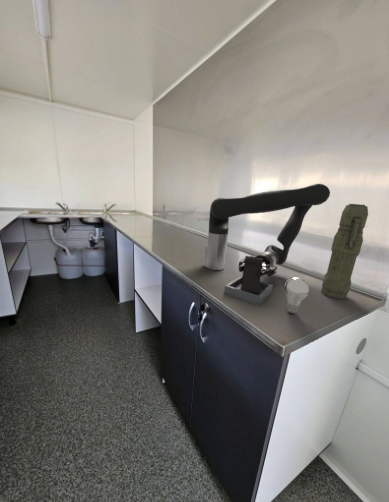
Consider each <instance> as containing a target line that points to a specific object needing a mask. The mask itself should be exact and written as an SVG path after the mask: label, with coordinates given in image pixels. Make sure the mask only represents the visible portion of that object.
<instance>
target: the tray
mask: <svg viewBox="0 0 389 502" xmlns="http://www.w3.org/2000/svg"><path fill="white" fill-rule="evenodd" d="M241 282H242V275H240V276H238V277H237V278H235V279H233V280H232V281H230V282H228V283H227V284H225V285H224V290H223V291H224V293H223V294H225V295H228V296H230V297H233V298H236V299H238V300H242V301H244V302H248V303H251V304H253V305H256V306H260V305H261V304H262V303H263V302H264V301H265V300H266V299H267V297H269V296H270V295H271V293H272V292H273V291H272V290H273V284H270V283H266V282H263V281H260V285H259V293H258V294H253V293H249V292H246V291H243V290H241Z"/></svg>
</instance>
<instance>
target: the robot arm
mask: <svg viewBox="0 0 389 502" xmlns="http://www.w3.org/2000/svg"><path fill="white" fill-rule="evenodd" d="M330 195H331V191H330V188H329V187H328V186H327V185H325V184H323V183H314V184H310V185H307V186H304V187H300V188H294V189H293V188H292V189H274V190H268V191H267V190H266V191H260V192H256V193H253V194H249V195H246V196H243V197H231V198H229V197H228V198H225V197H223V198H222V197H219V198H216V199H214V200H213V201H212V202H211V204H210V209H209V220H208V235H207V242H206V243H207V245H206V246H205V248H204V258H203V267H205V268H206V269H208V270H213V271H222V270H224V268H225V262H226V255H227V246H228V238H229V237H228V235H229V218H232V217H236V216H240V215H249V214H251V215H252V214H265V213H270V212H277V211H283V210H286V209H290V208H293V207H294V208H293V211H292V212H291V214H290V216H289V218H288V220H287V221H286V223H285V225H284V226H283V227H282V229H281V230H280V233H279V234H278V236H277V238H276V240H277V241H278V243H280V244H281V245H282V246H283V248H282V249H281V248H280V247H278V246H276V245H274V244H270V245H268V246H266V248H265V249H264V252H261V253H259V254H258V255H255V257H258V258H262V259H263V262H262V269H261V270H259V271H258V277H260V278H261V277H264V276H266V275H267V277H272V276H274V275H275V274H277V270H278V266H279V265H283V264H284V263H286V261H287V259H288V256H289V252H290V249H291V246H292V244H293V243H294V241H295V239H296V238H297V236H298V235H299V233H300V231H301V229H302V225H303V222H304V219H305V217H306V215H307V214H308V211H309V210H311V208H312V207H313V206H319V205H322V204H323V203H325V202H327V201H328V199H329V198H330ZM244 263H245V258H241V260H240V261H238V271H239V272H240V273H243V271H244ZM276 264H277V265H276Z"/></svg>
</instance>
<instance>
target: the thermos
mask: <svg viewBox="0 0 389 502" xmlns="http://www.w3.org/2000/svg"><path fill="white" fill-rule="evenodd" d="M368 207H369V206H367V205H366V204H358V203H349V204H346V205H345V206H344V208H343V209H342V212H341V217H340V221H339V226H338V228H337V231H336V233H335V235H334V237H333V240H332V244H331V248H330V250H331V254H330V255H331V256H330V257H329V258H330V259H329V262H328V266H327V269H326V270H327V271H326V273H325V274H324V277H323V280H322V284H321V287H322V288H321V291H320V293H321V294H323V295H324V296H326V297H329V298H330V299H334V300H341V301H344V300H347V298H348V297H347V296H348V293H349V292H350V289H351V285H352V275H353V271H354V268H355V265H356V261H357V257H358V256H359V255H360V253H361V249H362V245H363V243H364V237H363V236H364V235H363V234H364V228H365V227H366V223H367V221H368V217H369V208H368Z"/></svg>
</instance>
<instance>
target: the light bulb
mask: <svg viewBox="0 0 389 502" xmlns="http://www.w3.org/2000/svg"><path fill="white" fill-rule="evenodd" d="M283 287H284V288H283V290H284V293H285V295H286V300H287V303H286V310H287V311H288V312H289V314H291V315H293V314H295V313H297V312H298V311H299V307H300V305H301V303H302V301H303V300H305V299H306V298H307V296H308V295H309V293H310V286H309V284H308V282H307V281H306V280H305V279H304V278H302V277H299V276H293V277H290V278H289V279H287V280H286V281H285V283H284V286H283Z"/></svg>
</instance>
